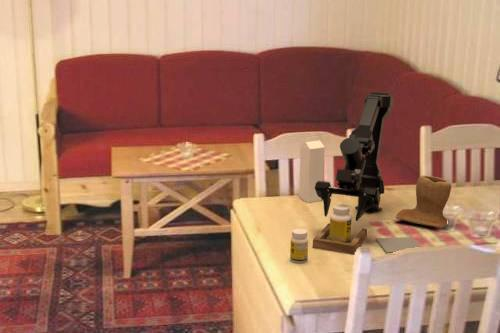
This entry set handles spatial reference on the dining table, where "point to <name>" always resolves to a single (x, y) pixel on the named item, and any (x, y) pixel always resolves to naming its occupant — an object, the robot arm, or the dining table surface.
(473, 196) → the dining table surface
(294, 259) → the supplement bottle
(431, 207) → the brown boot
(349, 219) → the pill bottle
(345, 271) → the dining table surface
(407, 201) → the dining table surface
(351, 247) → the open wooden u-frame
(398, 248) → the coaster
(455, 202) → the dining table surface
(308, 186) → the milk
